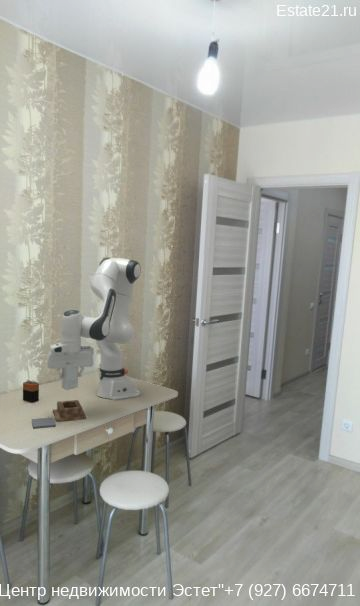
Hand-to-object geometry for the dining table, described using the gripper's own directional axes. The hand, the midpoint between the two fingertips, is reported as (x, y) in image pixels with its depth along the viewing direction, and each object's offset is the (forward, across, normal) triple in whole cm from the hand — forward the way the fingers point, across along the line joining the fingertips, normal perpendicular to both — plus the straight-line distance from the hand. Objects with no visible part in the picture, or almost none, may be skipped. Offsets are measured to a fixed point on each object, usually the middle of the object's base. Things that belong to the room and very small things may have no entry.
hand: (70, 376), depth 203 cm
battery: (+18, +15, -25) cm, 34 cm away
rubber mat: (+18, +12, +7) cm, 23 cm away
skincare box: (+5, 0, 0) cm, 5 cm away
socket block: (+18, 0, 0) cm, 18 cm away
